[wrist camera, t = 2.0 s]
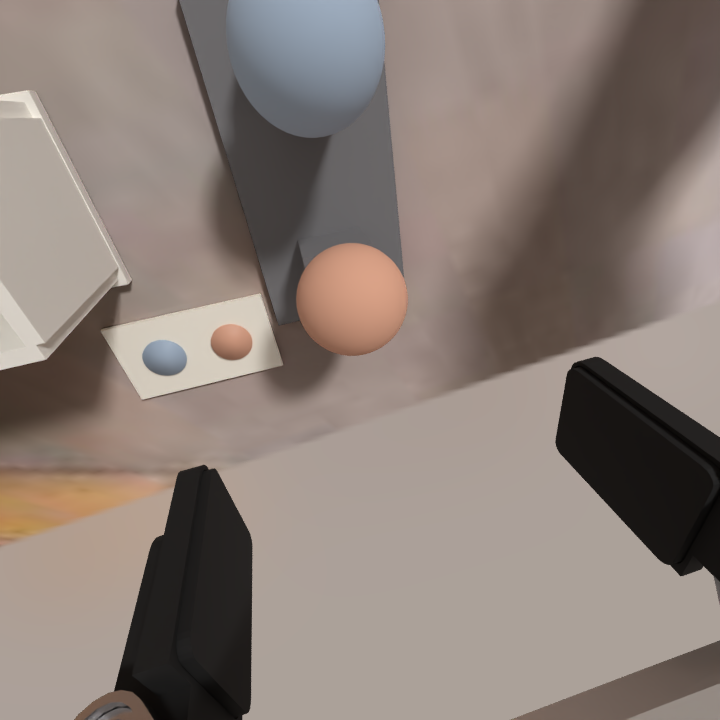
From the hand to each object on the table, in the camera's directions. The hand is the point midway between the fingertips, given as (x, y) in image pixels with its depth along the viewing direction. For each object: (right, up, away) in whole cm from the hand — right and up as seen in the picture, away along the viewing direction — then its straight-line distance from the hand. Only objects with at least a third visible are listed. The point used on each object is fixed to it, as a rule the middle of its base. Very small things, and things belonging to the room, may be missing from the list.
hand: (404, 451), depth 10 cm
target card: (-11, +3, +13) cm, 18 cm away
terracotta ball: (-2, +6, +9) cm, 12 cm away
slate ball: (-3, +14, +4) cm, 15 cm away
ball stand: (-3, +12, +10) cm, 16 cm away
